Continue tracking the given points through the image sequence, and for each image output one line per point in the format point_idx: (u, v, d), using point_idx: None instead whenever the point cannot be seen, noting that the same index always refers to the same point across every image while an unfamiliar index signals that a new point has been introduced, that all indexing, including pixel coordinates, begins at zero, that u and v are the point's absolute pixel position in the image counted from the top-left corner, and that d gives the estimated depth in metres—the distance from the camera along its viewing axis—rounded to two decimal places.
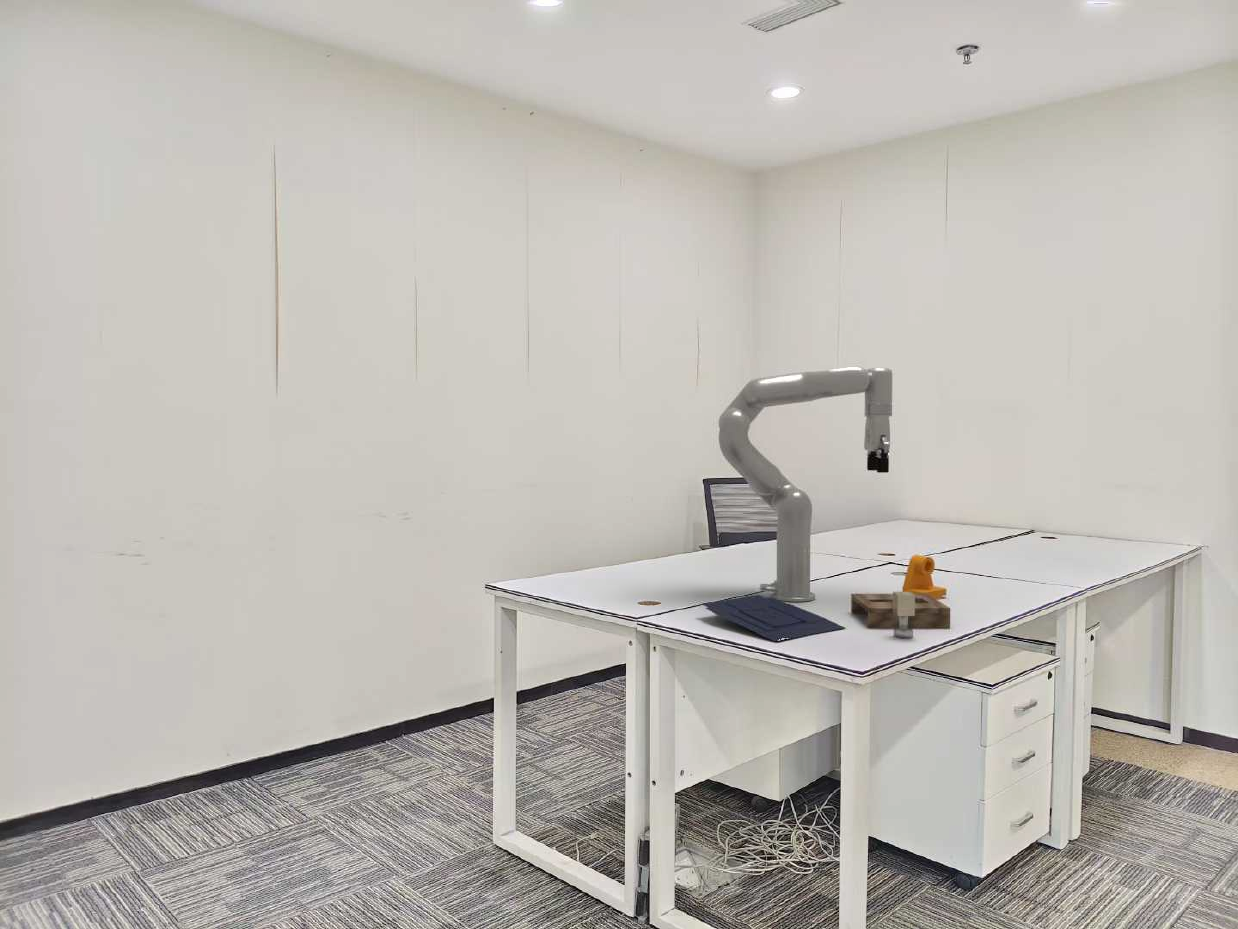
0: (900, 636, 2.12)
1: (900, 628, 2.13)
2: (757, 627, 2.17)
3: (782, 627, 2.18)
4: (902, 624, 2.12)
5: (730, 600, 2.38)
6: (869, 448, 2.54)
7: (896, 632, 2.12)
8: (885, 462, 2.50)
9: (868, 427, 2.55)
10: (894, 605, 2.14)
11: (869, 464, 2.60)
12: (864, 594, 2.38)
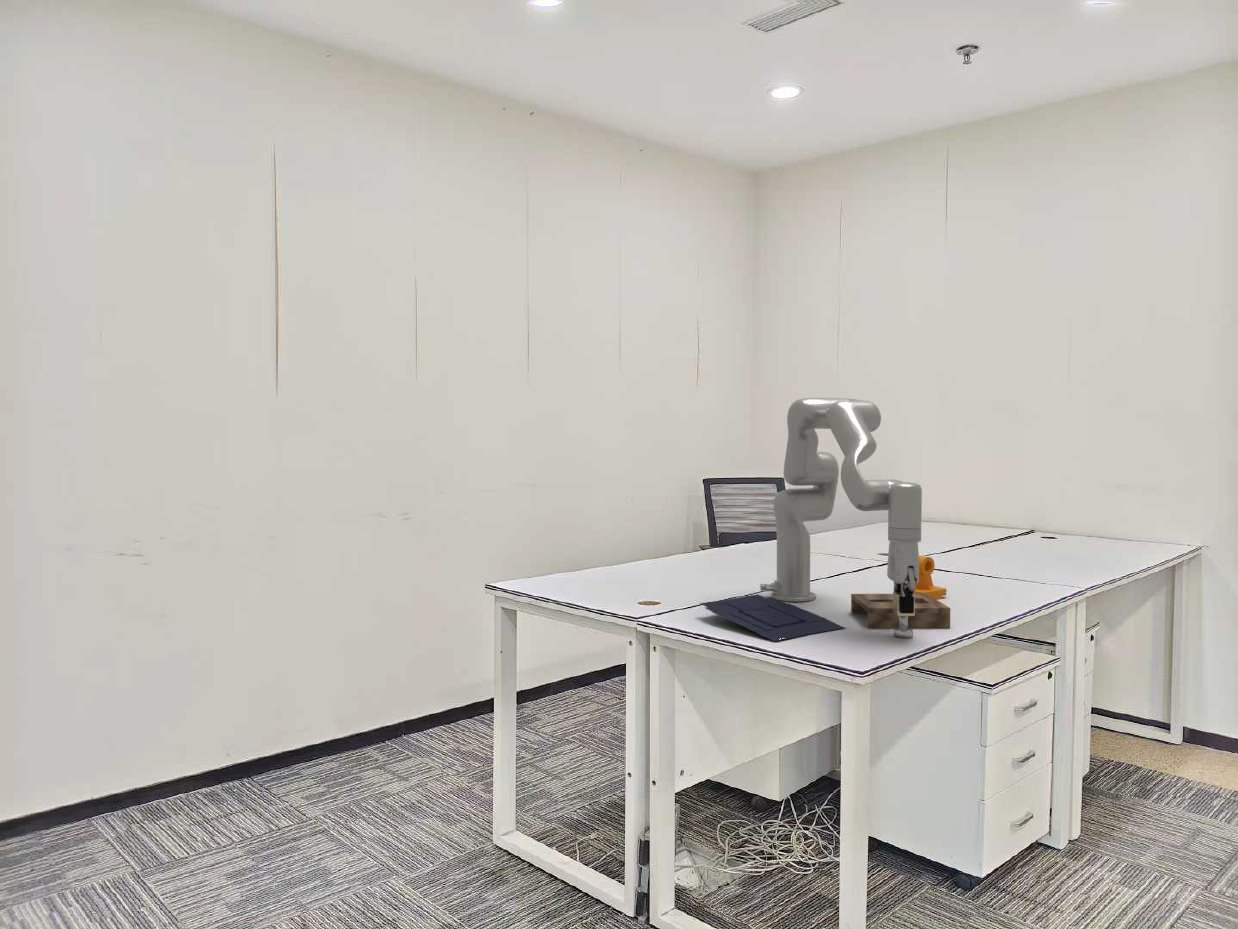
0: (900, 636, 2.12)
1: (900, 628, 2.13)
2: (756, 627, 2.17)
3: (781, 627, 2.18)
4: (902, 624, 2.12)
5: (730, 600, 2.38)
6: (893, 579, 2.11)
7: (896, 632, 2.12)
8: (910, 602, 2.10)
9: (892, 553, 2.12)
10: (894, 605, 2.14)
11: None
12: (864, 594, 2.38)
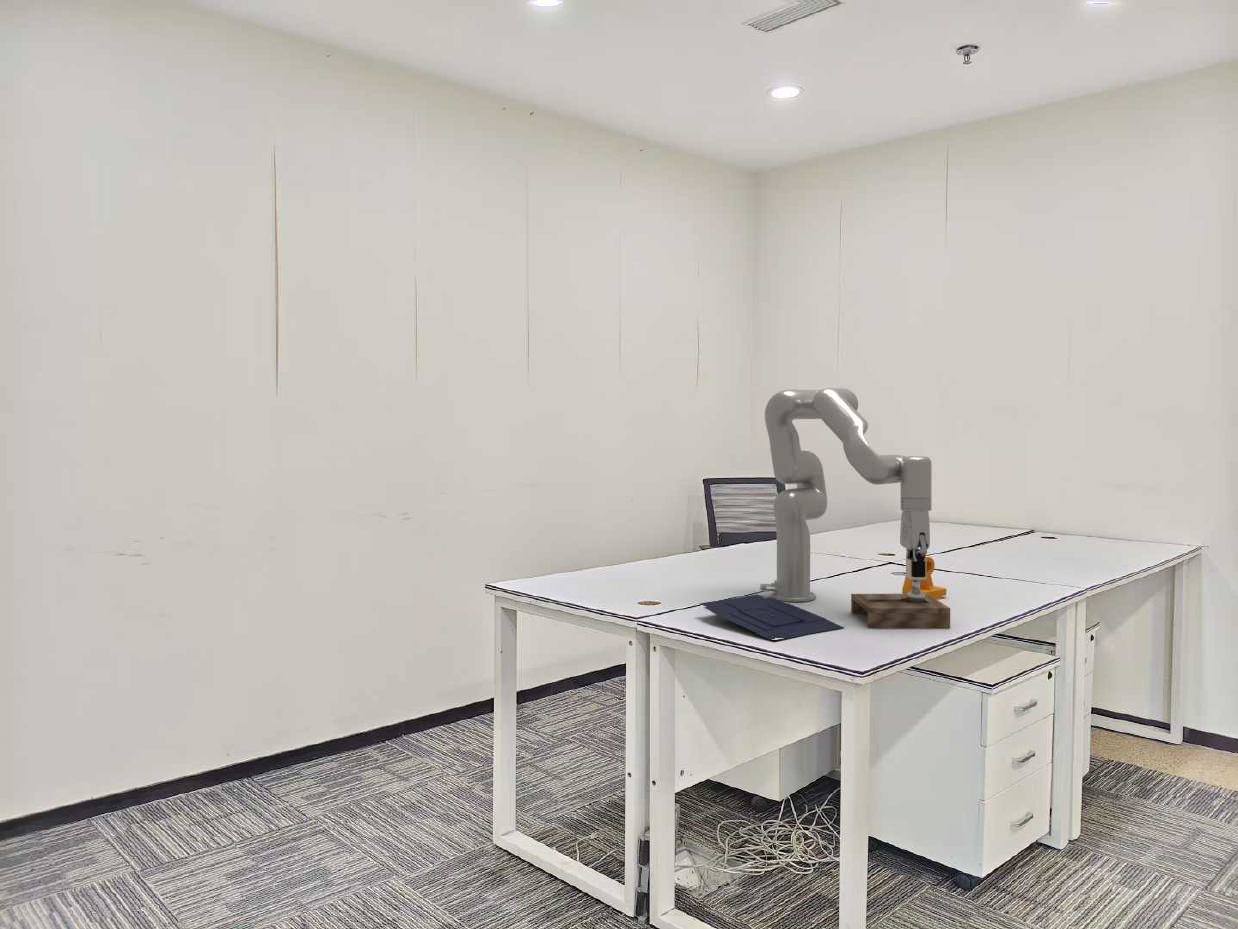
0: (913, 598, 2.28)
1: (913, 591, 2.29)
2: (755, 626, 2.17)
3: (780, 626, 2.19)
4: (915, 587, 2.29)
5: (729, 600, 2.38)
6: (906, 546, 2.28)
7: (909, 595, 2.29)
8: (921, 566, 2.26)
9: (905, 522, 2.29)
10: (907, 570, 2.30)
11: None
12: (864, 594, 2.38)
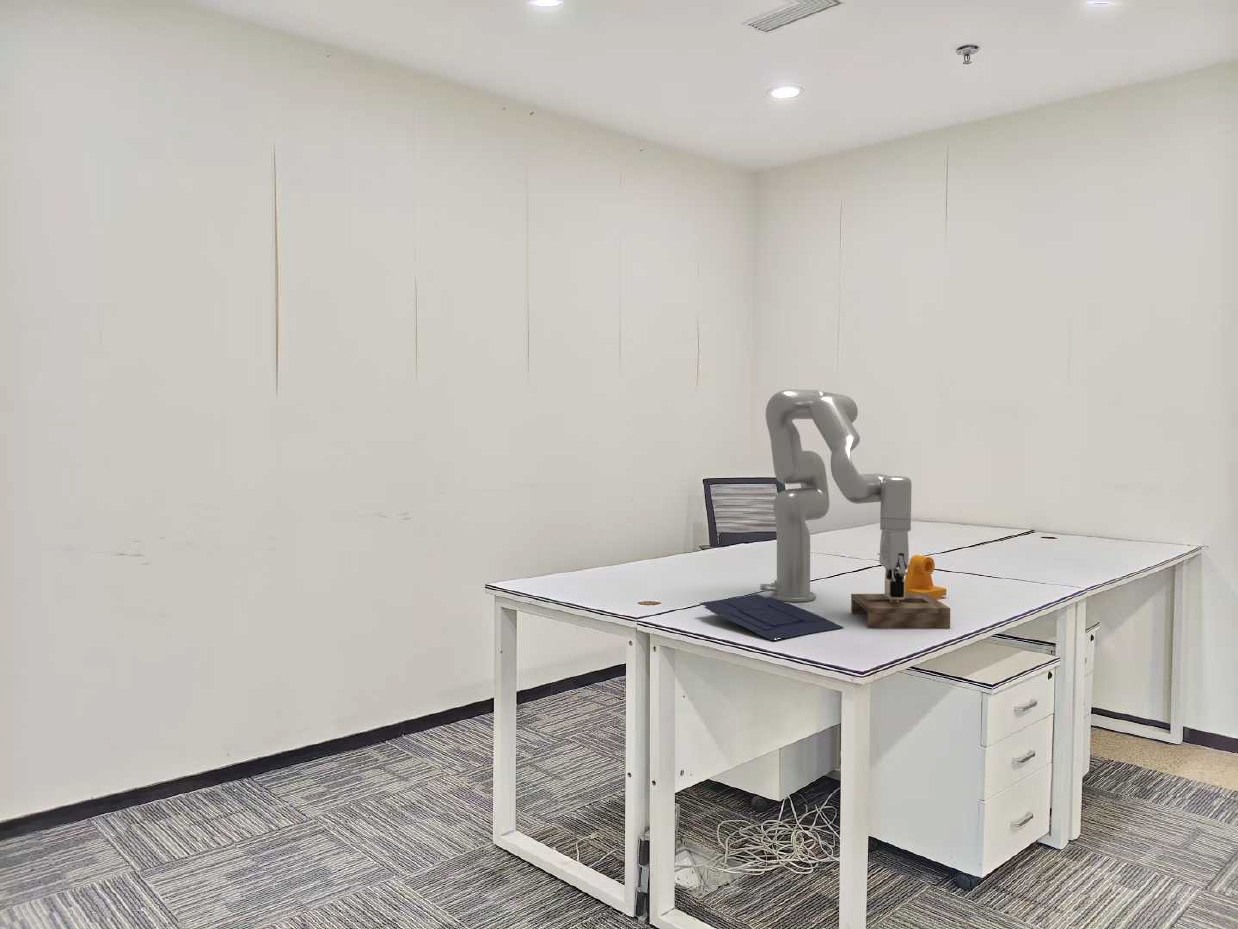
0: None
1: None
2: (755, 626, 2.18)
3: (780, 626, 2.19)
4: None
5: (729, 599, 2.38)
6: (885, 566, 2.28)
7: None
8: (900, 586, 2.27)
9: (884, 542, 2.29)
10: (886, 590, 2.31)
11: None
12: (864, 594, 2.38)
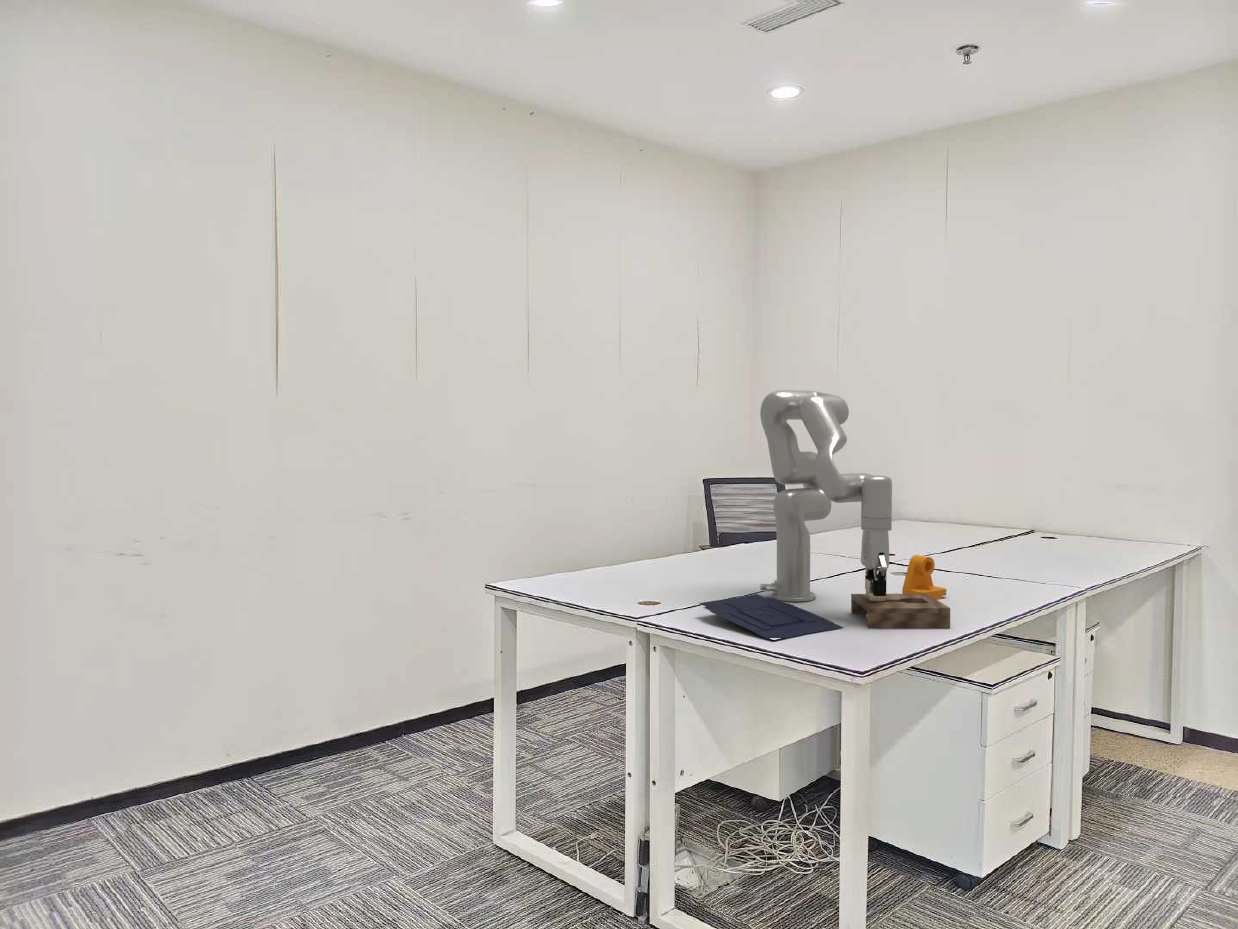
0: None
1: None
2: (754, 626, 2.18)
3: (779, 626, 2.19)
4: None
5: (729, 599, 2.39)
6: (866, 565, 2.28)
7: None
8: (882, 585, 2.25)
9: (865, 541, 2.29)
10: (867, 591, 2.31)
11: None
12: (864, 594, 2.38)
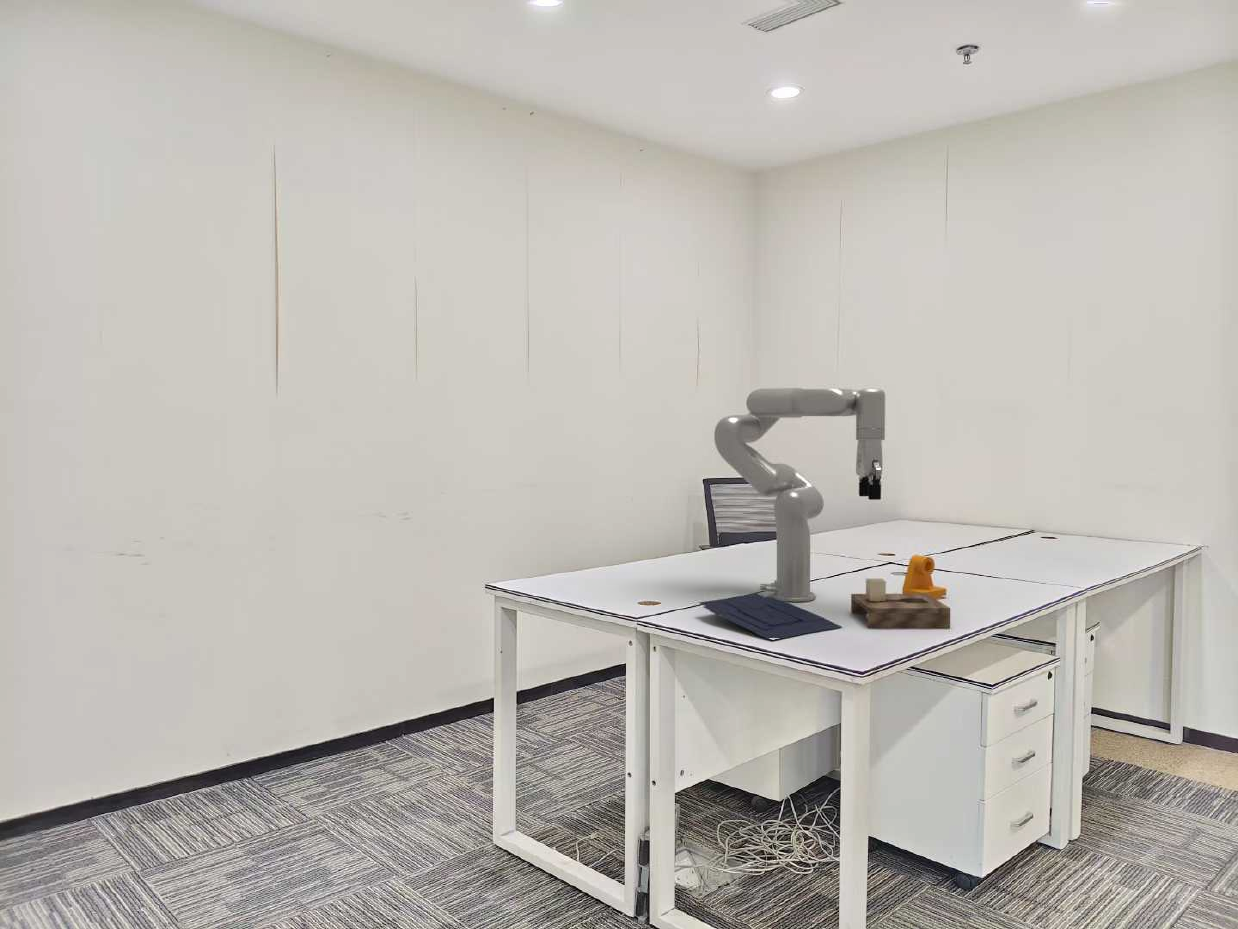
0: None
1: None
2: (753, 626, 2.18)
3: (778, 626, 2.19)
4: None
5: (728, 599, 2.39)
6: (860, 473, 2.41)
7: None
8: (877, 489, 2.37)
9: (859, 451, 2.42)
10: (867, 591, 2.31)
11: (861, 490, 2.47)
12: (864, 594, 2.38)
